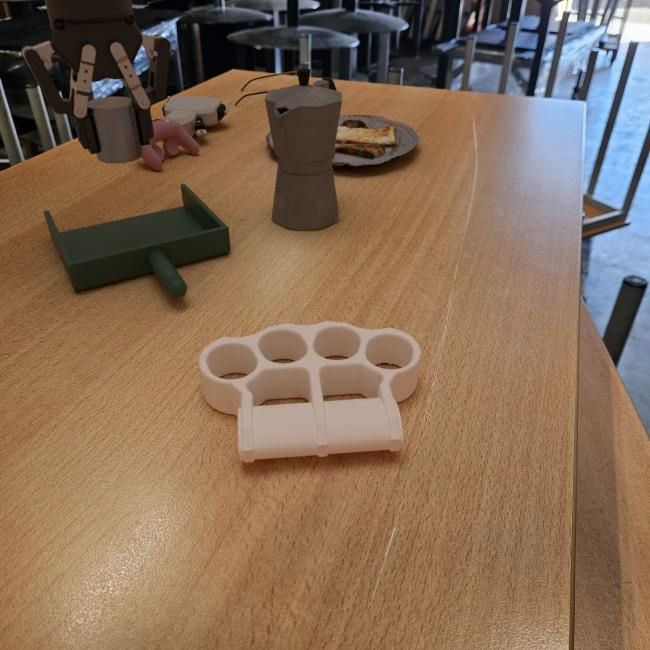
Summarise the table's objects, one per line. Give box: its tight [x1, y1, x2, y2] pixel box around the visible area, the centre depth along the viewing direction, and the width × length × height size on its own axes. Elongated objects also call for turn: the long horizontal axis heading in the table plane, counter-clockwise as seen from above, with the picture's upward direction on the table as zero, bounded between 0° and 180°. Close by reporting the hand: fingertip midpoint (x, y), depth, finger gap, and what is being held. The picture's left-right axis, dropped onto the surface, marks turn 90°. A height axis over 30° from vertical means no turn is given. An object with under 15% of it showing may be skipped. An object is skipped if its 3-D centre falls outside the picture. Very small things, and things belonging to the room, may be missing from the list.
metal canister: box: [87, 96, 144, 164], centre depth 60 cm, size 5×5×6 cm
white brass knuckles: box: [198, 320, 422, 464], centre depth 46 cm, size 3×18×15 cm
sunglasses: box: [234, 69, 297, 107], centre depth 120 cm, size 14×15×5 cm
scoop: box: [42, 183, 232, 299], centre depth 64 cm, size 23×17×4 cm
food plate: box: [265, 114, 422, 167], centre depth 95 cm, size 25×23×4 cm
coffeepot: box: [264, 66, 343, 232], centre depth 70 cm, size 15×9×18 cm, turn 157°
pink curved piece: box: [141, 119, 200, 172], centre depth 89 cm, size 10×5×7 cm, turn 149°
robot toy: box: [152, 95, 233, 138], centre depth 101 cm, size 12×4×15 cm
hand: (118, 146), depth 61 cm, fingers closed on metal canister, 4 cm apart
